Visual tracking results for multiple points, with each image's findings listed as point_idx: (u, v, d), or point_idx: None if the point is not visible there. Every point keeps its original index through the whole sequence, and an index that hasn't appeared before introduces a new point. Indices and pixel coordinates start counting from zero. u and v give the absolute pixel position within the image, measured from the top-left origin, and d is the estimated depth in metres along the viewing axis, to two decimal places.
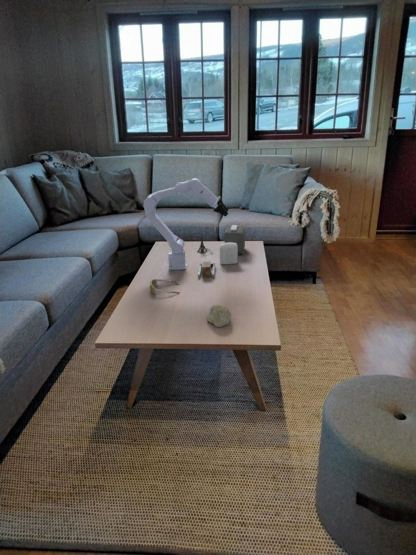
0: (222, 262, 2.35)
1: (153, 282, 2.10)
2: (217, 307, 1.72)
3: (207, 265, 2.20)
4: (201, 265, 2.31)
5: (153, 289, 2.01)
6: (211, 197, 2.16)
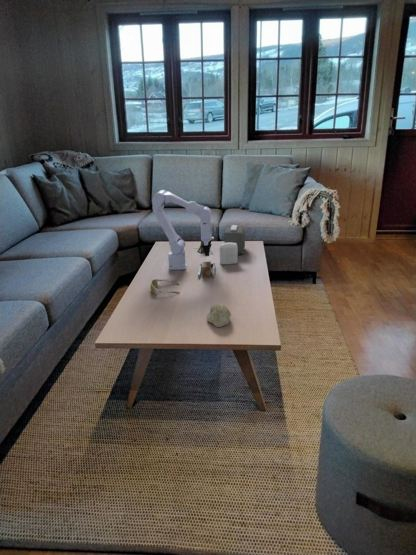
0: (222, 262, 2.35)
1: (153, 282, 2.10)
2: (217, 307, 1.72)
3: (207, 265, 2.20)
4: (201, 265, 2.31)
5: (153, 289, 2.01)
6: (208, 233, 2.21)
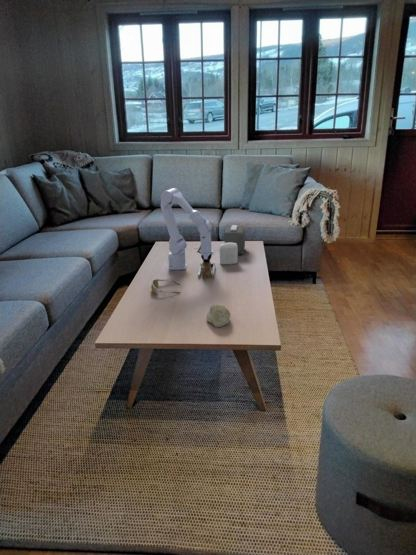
0: (222, 262, 2.35)
1: (154, 282, 2.10)
2: (216, 307, 1.72)
3: (207, 266, 2.19)
4: (201, 265, 2.31)
5: (154, 289, 2.01)
6: (208, 247, 2.20)
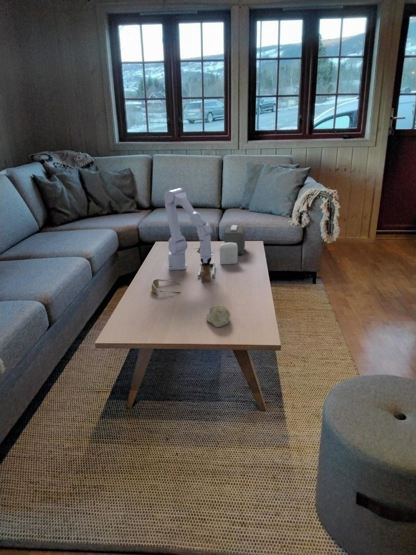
0: (222, 262, 2.35)
1: (154, 282, 2.10)
2: (216, 307, 1.72)
3: (206, 269, 2.14)
4: (201, 265, 2.31)
5: (155, 289, 2.01)
6: (207, 251, 2.15)
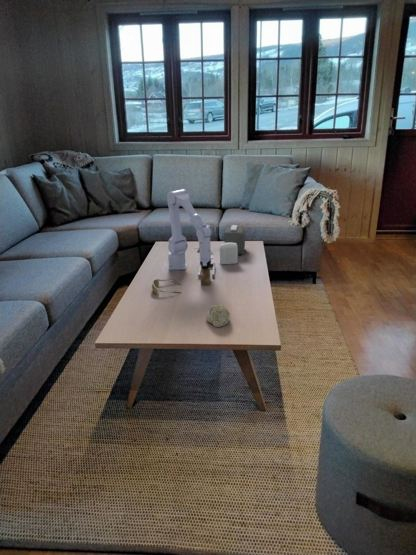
0: (222, 262, 2.35)
1: (155, 282, 2.10)
2: (216, 307, 1.72)
3: (206, 272, 2.10)
4: None
5: (155, 289, 2.01)
6: (207, 253, 2.11)
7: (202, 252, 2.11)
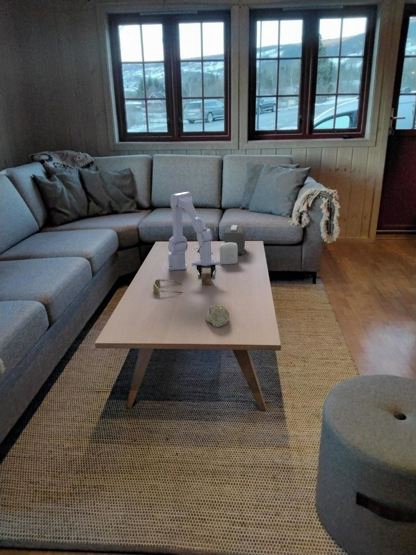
0: (222, 262, 2.35)
1: (156, 282, 2.10)
2: (215, 307, 1.72)
3: (207, 272, 2.10)
4: None
5: (156, 289, 2.01)
6: (200, 257, 2.08)
7: None
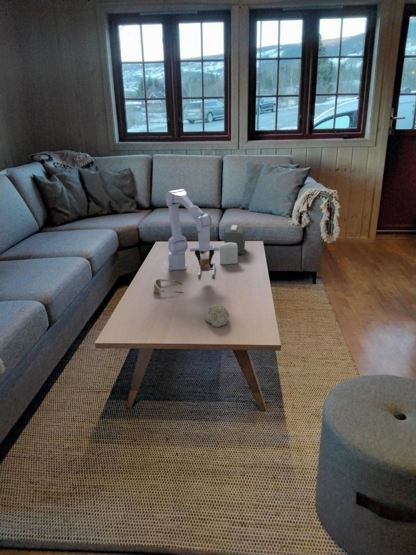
0: (222, 262, 2.35)
1: (157, 282, 2.10)
2: (215, 307, 1.72)
3: (206, 258, 2.08)
4: None
5: (157, 289, 2.01)
6: None
7: None
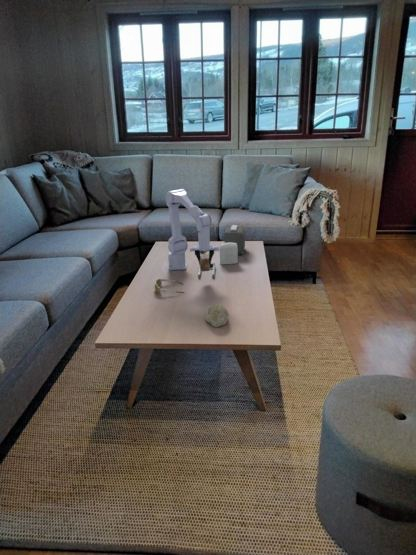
0: (222, 262, 2.35)
1: (158, 282, 2.10)
2: (215, 307, 1.72)
3: (206, 258, 2.08)
4: None
5: (158, 289, 2.01)
6: None
7: None
